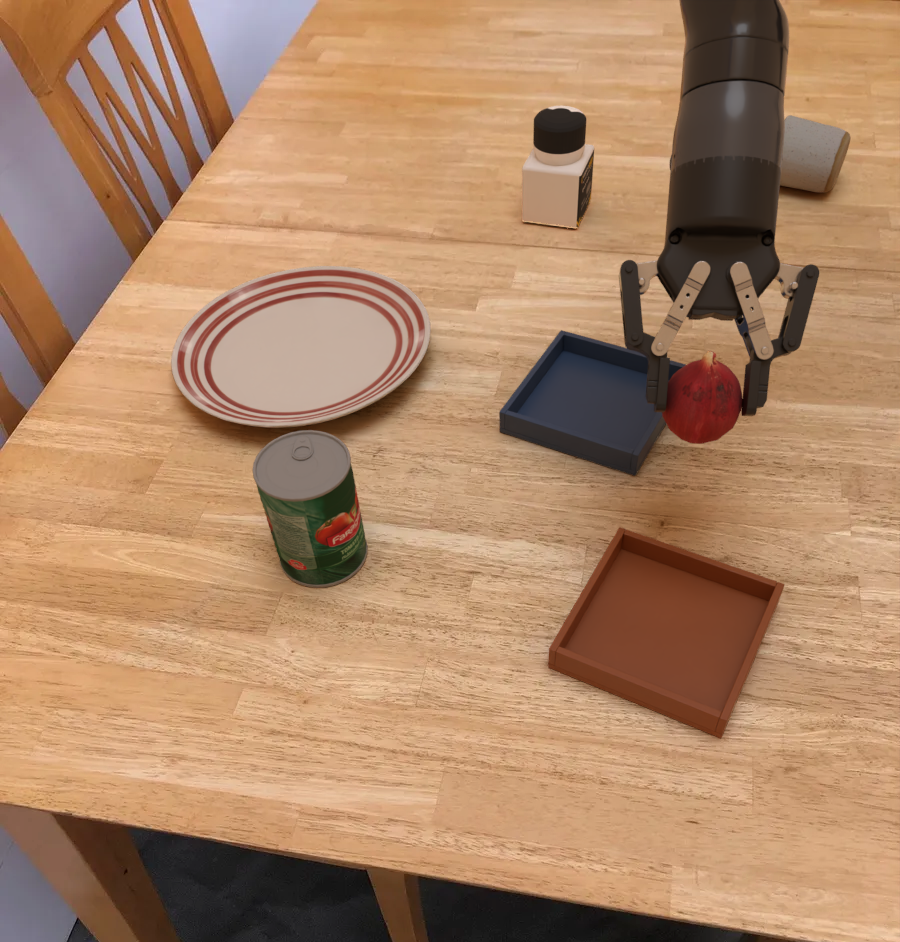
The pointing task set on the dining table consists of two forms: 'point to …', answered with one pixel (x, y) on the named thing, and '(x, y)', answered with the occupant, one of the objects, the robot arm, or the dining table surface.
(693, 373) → the onion
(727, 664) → the copper tray
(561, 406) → the blue tray
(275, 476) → the canned tomato
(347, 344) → the dinner plate
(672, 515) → the dining table surface
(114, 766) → the dining table surface
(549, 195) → the medicine bottle
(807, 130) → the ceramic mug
